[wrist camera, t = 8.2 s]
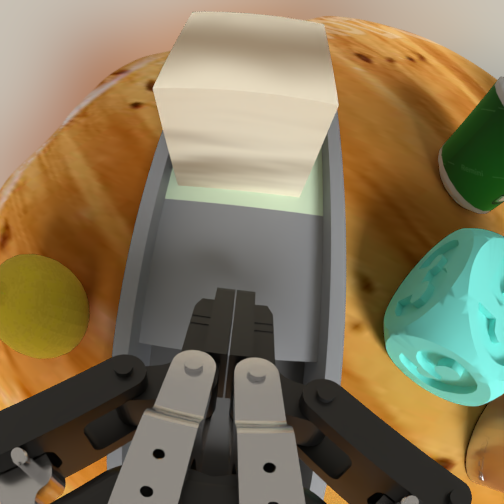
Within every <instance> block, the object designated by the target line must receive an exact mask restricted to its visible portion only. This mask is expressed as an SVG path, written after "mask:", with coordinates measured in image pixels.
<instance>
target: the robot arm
mask: <svg viewBox="0 0 504 504" xmlns="http://www.w3.org/2000/svg"><path fill="white" fill-rule="evenodd" d="M234 299H235V289H227V288H219V287H217V291H216V295H215V300H213V299H205V298H202V299H201V300H200V301H199V302H198V303H197V304H196V305H195V306H194V310H193V313H192V316H191V320H190V324H189V326H188V330H187V333H186V337H185V340H184V343H183V347H182V350H181V353H179V354H177V355H176V356H175V357H174V358H173V360H172V362H170V363H167V364H163V365H155V366H145V364H144V363H143V361H142V360H140V359H139V358H138V357H136V356H133V355H128V354H122V355H117V356H114V357H112V358H110V359H108V360H106V361H104V362H102V363H100V364H98V365H96V366H94V367H92V368H90V369H88V370H86V371H84V372H82V373H80V374H78V375H76V376H73V377H71V378H69V379H67V380H65V381H63V382H61V383H59V384H57V385H55V386H53V387H51V388H49V389H47V390H44V391H42V392H40V393H38V394H36V395H34V396H32V397H30V398H27V399H25V400H23V401H21V402H19V403H17V404H14V405H12V406H10V407H8V408H6V409H3V410H1V411H0V503H1V504H326V503H325V502H324V501H323V500H322V499H321V498H320V497H319V496H318V495H316V494H315V493H314V492H312V491H310V490H309V489H307V488H305V487H303V484H302V478H301V471H300V465H299V458H300V459H301V460H302V461H303V462H304V463H305V464H306V465H307V466H308V467H309V468H310V469H311V470H313V471H314V472H315V473H316V474H317V475H318V476H319V477H320V478H321V479H322V480H323V481H324V482H325V483H326V484H328V485H329V486H330V487H331V488H332V489H333V490H334V491H335V492H336V493H338V494H339V495H340V496H341V497H342V498H343V499H344V500H346V501H347V502H348V503H349V504H471V500H472V495H471V491H470V489H469V487H468V486H467V484H466V483H464V482H463V481H462V480H460V479H459V478H457V477H456V476H455V475H453V474H452V473H451V472H449V471H448V470H446V469H445V468H444V467H442V466H441V465H440V464H438V463H437V462H436V461H434V460H433V459H432V458H430V457H429V456H428V455H426V454H425V453H424V452H422V451H421V450H420V449H418V448H417V447H416V446H414V445H413V444H412V443H411V442H409V441H408V440H407V439H405V438H404V437H403V436H402V435H400V434H399V433H398V432H397V431H395V430H394V429H393V428H391V427H390V426H389V425H388V424H386V423H385V422H384V421H383V420H381V419H380V418H379V417H378V416H376V415H375V414H374V413H373V412H371V411H370V410H369V409H368V408H367V407H365V406H364V405H363V404H362V403H360V402H359V401H358V400H357V399H356V398H354V397H353V396H352V395H351V394H350V393H348V392H347V391H346V390H345V389H344V388H342V387H341V386H340V385H339V384H337V383H336V382H334V381H331V380H328V379H315V380H312V381H310V382H309V383H308V384H307V385H304V384H301V383H298V382H294V381H292V380H289V379H288V378H286V377H284V376H283V375H282V374H281V373H280V372H279V371H278V369H277V367H276V364H275V348H274V326H273V314H272V312H271V311H270V309H269V308H268V306H264V305H255V292H253V291H244V290H237V295H236V303H235V312H234V320H233V328H232V337H231V345H230V353H229V363H228V372H227V381H226V391H225V398H229V399H230V407H229V416H228V475H226V476H209V475H206V474H203V473H201V471H202V463H203V457H204V453H205V449H206V444H207V440H208V436H209V431H210V427H211V423H212V419H213V413H214V411H215V408H216V401H217V397H219V398H223V392H224V384H225V375H226V367H227V359H228V351H229V343H230V335H231V326H232V317H233V308H234ZM131 440H132V442H131V445H130V447H129V450H128V452H127V455H126V457H125V460H124V462H123V465H120V466H117V467H114V468H111V469H109V470H107V471H105V472H103V473H102V474H100V475H98V476H97V477H95V478H94V479H92V480H90V481H89V482H87V483H85V484H84V485H82V486H80V487H79V488H77V489H75V490H73V491H72V492H70V493H68V494H66V495H65V496H63V497H61V498H59V499H57V500H55V499H56V498H58V497H59V496H60V495H62V493H63V491H64V489H65V478H66V477H68V476H70V475H72V474H74V473H76V472H77V471H79V470H81V469H83V468H85V467H87V466H89V465H90V464H92V463H94V462H96V461H98V460H99V459H101V458H103V457H105V456H106V455H108V454H110V453H111V452H113V451H115V450H117V449H118V448H120V447H122V446H123V445H125V444H127V443H128V442H130V441H131ZM298 457H299V458H298ZM466 470H467V474H468V476H469V478H470V480H472V481H473V482H475V483H477V484H480V485H483V486H486V487H488V488H491V489H494V490H497V491H500V492H503V493H504V394H502V395H501V396H499V397H498V398H496V399H494V400H492V401H491V402H490V403H489V404H488V405H487V407H486V408H485V410H484V411H483V413H482V415H481V416H480V418H479V420H478V422H477V424H476V426H475V429H474V431H473V434H472V436H471V439H470V443H469V446H468V451H467V456H466ZM54 500H55V501H54ZM53 501H54V502H53Z"/></svg>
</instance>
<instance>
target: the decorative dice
mask: <svg viewBox="0 0 504 504" xmlns="http://www.w3.org/2000/svg"><path fill="white" fill-rule="evenodd" d="M384 339H385V345H386V350H387V352H388V355H389V356H390V358H391V359H392V361H393V362H394V363H395V365H396V366H397V367H398V368H399V369H400V370H401V371H402V372H403V373H404V374H405V375H406V376H408V377H409V378H410V379H411V380H413V381H414V382H415V383H417V384H418V385H419V386H421V387H422V388H424V389H426V390H427V391H429V392H431V393H433V394H434V395H436V396H438V397H440V398H443V399H445V400H448V401H450V402H453V403H456V404H460V405H465V406H480V405H483V404H486V403H488V402H490V401H492V400H494V399H496V398H498V397H499V396H501V395H502V394H504V236H502V235H500V234H497V233H495V232H492V231H489V230H484V229H478V228H463V229H459V230H457V231H455V232H453V233H451V234H449V235H448V236H446V237H445V238H444V239H442V240H441V241H440V242H439V243H438V244H436V245H435V246H434V247H433V248H432V249H431V250H430V251H429V252H428V253H427V254H426V255H425V256H424V257H423V258H422V259H421V260H420V261H419V262H418V264H417V265H416V266H415V267H414V268H413V269H412V271H411V272H410V273H409V274H408V276H407V277H406V278H405V280H404V281H403V282H402V284H401V285H400V286H399V288H398V289H397V291H396V293H395V294H394V296H393V297H392V299H391V301H390V303H389V305H388V307H387V310H386V312H385V316H384Z"/></svg>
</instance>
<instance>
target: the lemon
mask: <svg viewBox="0 0 504 504" xmlns="http://www.w3.org/2000/svg"><path fill="white" fill-rule="evenodd" d="M89 316H90V315H89V303H88V299H87V295H86V292H85V290H84V288H83V286H82V284H81V282H80V281H79V280H78V279H77V277H76V276H75V275H74V274H73V273H72V272H71V271H70V270H69V269H68V268H67V267H65V266H64V265H62V264H61V263H59V262H58V261H56V260H54V259H51V258H48V257H45V256H41V255H36V254H22V255H17V256H14V257H12V258H10V259H8V260H6V261H5V262H4V263H2V264H1V265H0V339H1V340H2V341H3V342H4V343H5V344H7V345H8V346H9V347H11V348H12V349H13V350H15V351H17V352H19V353H21V354H24V355H27V356H30V357H33V358H38V359H45V358H56V357H59V356H61V355H64V354H66V353H68V352H70V351H71V350H72V349H73V348H75V347H76V346H77V345H78V344H79V343H80V341H81V340H82V338H83V337H84V335H85V332H86V330H87V327H88V322H89Z"/></svg>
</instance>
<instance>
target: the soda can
mask: <svg viewBox="0 0 504 504" xmlns="http://www.w3.org/2000/svg"><path fill="white" fill-rule="evenodd" d="M438 163H439V171H440V177H441V180H442V182H443V185H444V187H445V188H446V190H447V191H448V193H449V195H450V196H451V197H452V198H453V199H454V200H455V201H456V203H458V204H459V205H460V206H462V207H463V208H465V209H468V210H470V211H473V212H475V213H478V214H484V213H488V212H489V211H491V210H492V209H494V208H495V207H497V206H498V205H500V204H501V203H503V202H504V77H500V78H499V79H498V80H497V82H496V83H495V84H494V85H493V87H492V88H491V89H490V90H489V92H488V93H487V94H486V95H485V97H484V98H483V99H482V100H481V101H480V103H479V104H478V105H477V106H476V108H475V109H474V110H473V111H472V112H471V114H470V115H469V116H468V117H467V118H466V119H465V121H464V122H463V123H462V124H461V125H460V126H459V128H458V129H457V130H456V131H455V132H454V133H453V135H452V136H451V137H450V138H449V139H448V140H447V141H446V142H445V144H444V145H443V146H442V147H441V149H440V150H439V155H438Z"/></svg>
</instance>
